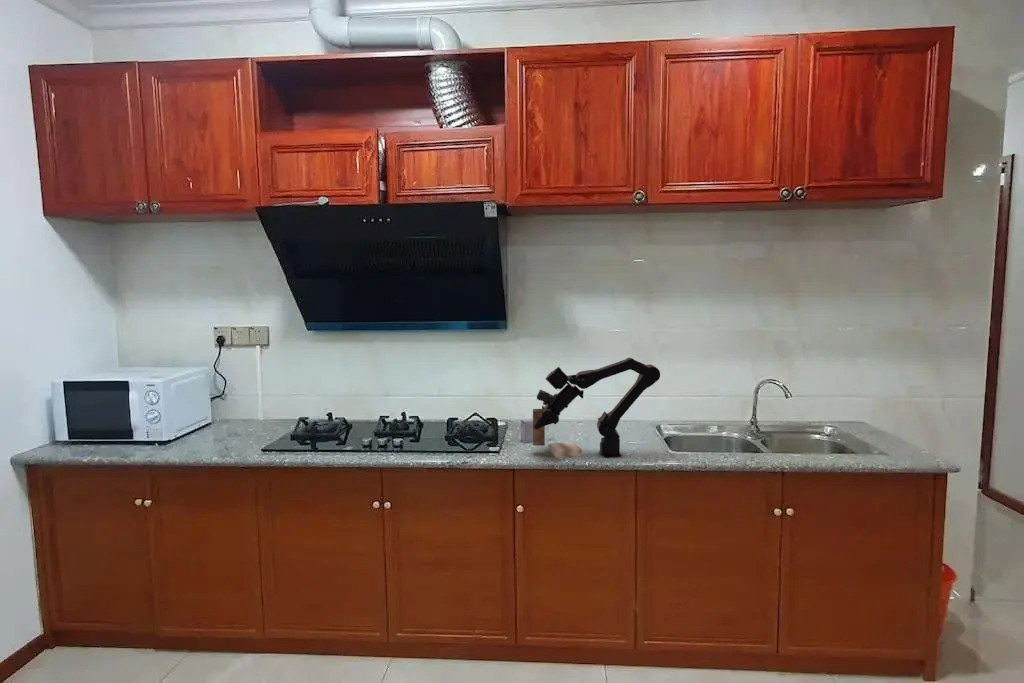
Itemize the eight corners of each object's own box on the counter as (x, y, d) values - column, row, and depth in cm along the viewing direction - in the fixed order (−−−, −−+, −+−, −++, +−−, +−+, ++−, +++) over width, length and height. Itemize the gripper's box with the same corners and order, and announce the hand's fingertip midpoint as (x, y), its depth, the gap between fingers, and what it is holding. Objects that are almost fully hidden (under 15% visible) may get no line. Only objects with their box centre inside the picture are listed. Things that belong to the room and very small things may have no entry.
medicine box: (537, 438, 250) (538, 418, 249) (542, 441, 246) (542, 420, 245) (520, 440, 247) (520, 419, 246) (524, 443, 243) (524, 422, 242)
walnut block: (544, 442, 229) (544, 408, 228) (544, 445, 225) (544, 411, 223) (532, 442, 229) (532, 408, 228) (532, 445, 225) (532, 411, 224)
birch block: (573, 449, 235) (573, 442, 234) (581, 457, 225) (581, 449, 225) (548, 451, 232) (548, 443, 232) (555, 458, 223) (556, 451, 222)
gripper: (548, 378, 234) (520, 406, 235) (549, 387, 215) (519, 417, 217) (568, 398, 234) (540, 426, 236) (571, 409, 216) (540, 438, 217)
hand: (535, 426), depth 226 cm, fingers closed on walnut block, 4 cm apart
